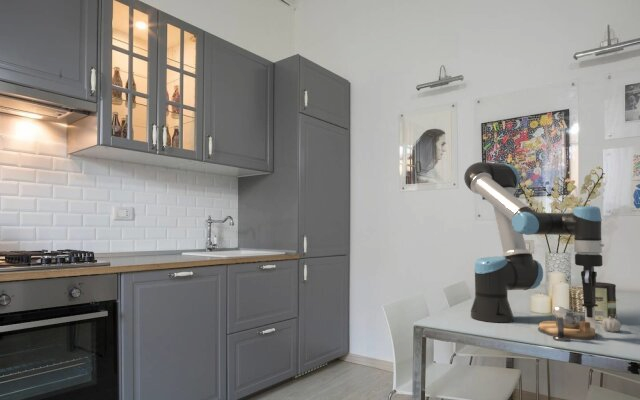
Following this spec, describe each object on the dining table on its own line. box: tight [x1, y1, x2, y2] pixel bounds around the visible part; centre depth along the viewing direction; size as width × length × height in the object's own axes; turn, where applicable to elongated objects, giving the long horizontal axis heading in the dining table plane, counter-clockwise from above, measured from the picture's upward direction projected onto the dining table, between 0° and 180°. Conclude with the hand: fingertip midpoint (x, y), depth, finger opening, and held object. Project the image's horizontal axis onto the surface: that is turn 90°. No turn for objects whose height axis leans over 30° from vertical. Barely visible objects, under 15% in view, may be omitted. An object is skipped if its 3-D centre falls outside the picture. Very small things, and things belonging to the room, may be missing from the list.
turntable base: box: [537, 326, 598, 341], centre depth 138 cm, size 17×17×1 cm
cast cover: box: [555, 308, 581, 329], centre depth 138 cm, size 7×7×6 cm
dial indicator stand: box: [552, 306, 570, 342], centre depth 131 cm, size 4×7×10 cm, turn 141°
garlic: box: [601, 316, 622, 333], centre depth 141 cm, size 6×5×5 cm
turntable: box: [538, 320, 596, 338], centre depth 138 cm, size 16×16×5 cm
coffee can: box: [594, 281, 618, 324], centre depth 157 cm, size 10×10×14 cm
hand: (590, 326), depth 133 cm, fingers closed
